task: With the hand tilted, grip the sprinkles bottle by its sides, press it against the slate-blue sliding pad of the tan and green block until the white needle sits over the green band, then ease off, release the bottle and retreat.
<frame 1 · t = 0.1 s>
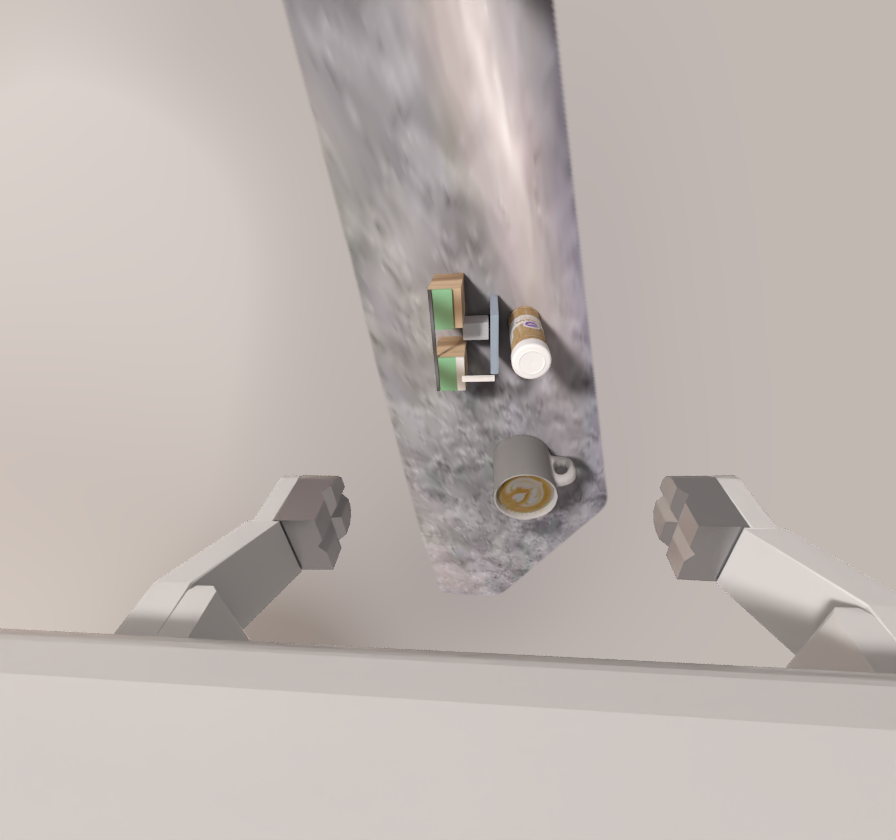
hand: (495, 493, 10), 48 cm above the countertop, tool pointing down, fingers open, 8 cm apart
tan and green block: (455, 323, 58), on the countertop
coffee mug: (531, 456, 70), on the countertop
sprinkles bottle: (523, 320, 57), on the countertop
gauge plunger: (479, 337, 54), point 5 cm above the countertop, slide at 0.0 cm
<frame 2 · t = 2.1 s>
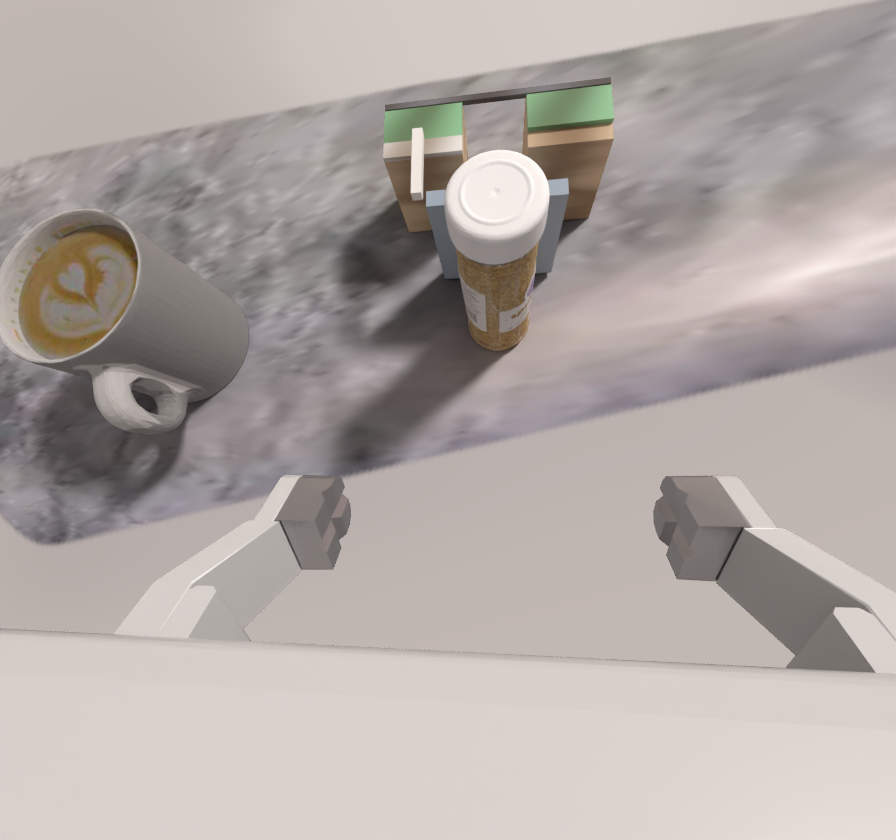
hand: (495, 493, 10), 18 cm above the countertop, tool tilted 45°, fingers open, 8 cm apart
tan and green block: (495, 208, 32), on the countertop
coffee mug: (194, 365, 33), on the countertop
sprinkles bottle: (497, 324, 30), on the countertop
gauge plunger: (489, 209, 27), point 5 cm above the countertop, slide at 0.0 cm
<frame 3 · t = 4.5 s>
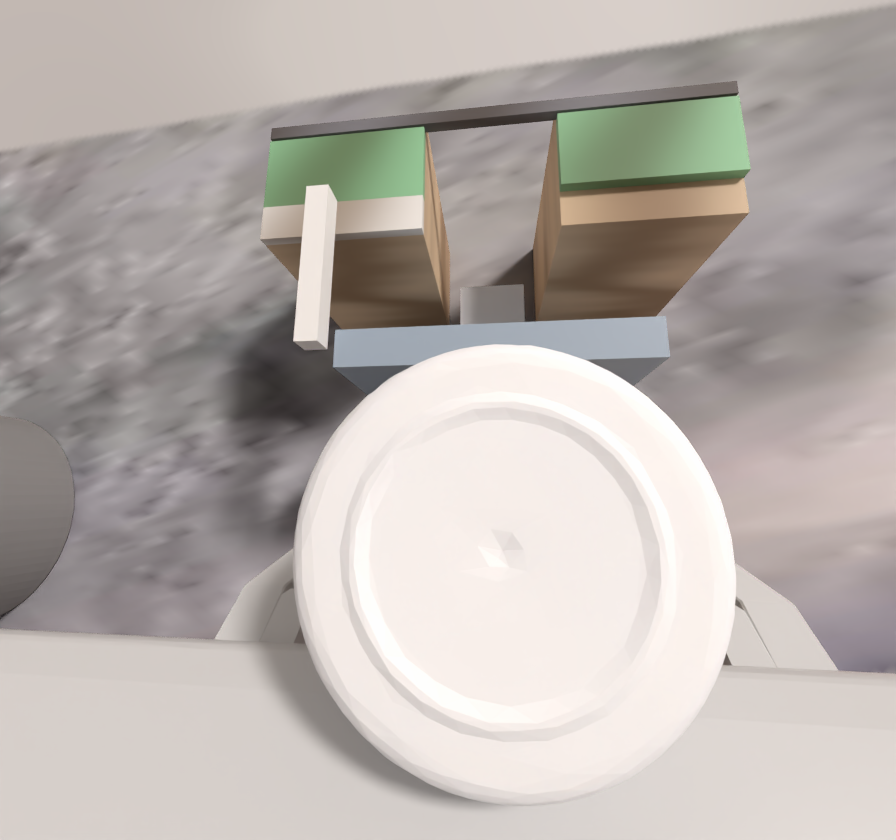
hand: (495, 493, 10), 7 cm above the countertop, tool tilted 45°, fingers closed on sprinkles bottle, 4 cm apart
tan and green block: (491, 298, 19), on the countertop
sprinkles bottle: (494, 509, 17), on the countertop, touching gripper
gauge plunger: (480, 331, 14), point 5 cm above the countertop, slide at 0.0 cm
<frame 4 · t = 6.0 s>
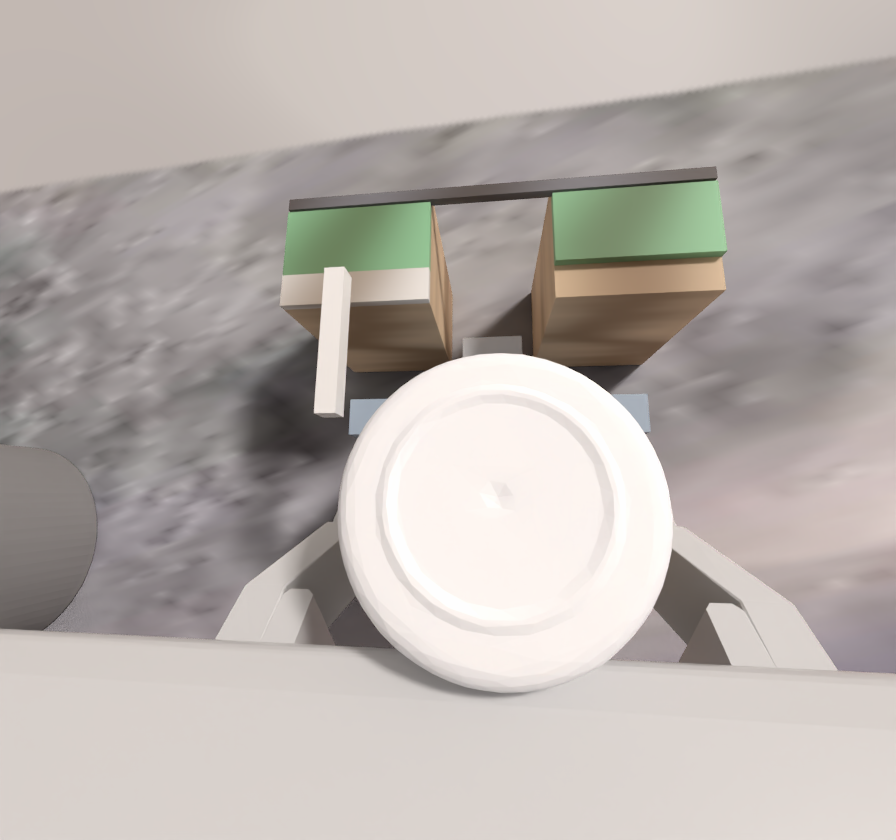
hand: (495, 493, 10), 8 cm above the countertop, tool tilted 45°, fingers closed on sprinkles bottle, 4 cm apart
tan and green block: (492, 339, 20), on the countertop
coffee mug: (10, 576, 21), on the countertop
sprinkles bottle: (497, 540, 18), on the countertop, touching gripper
gauge plunger: (481, 384, 15), point 5 cm above the countertop, slide at 0.0 cm
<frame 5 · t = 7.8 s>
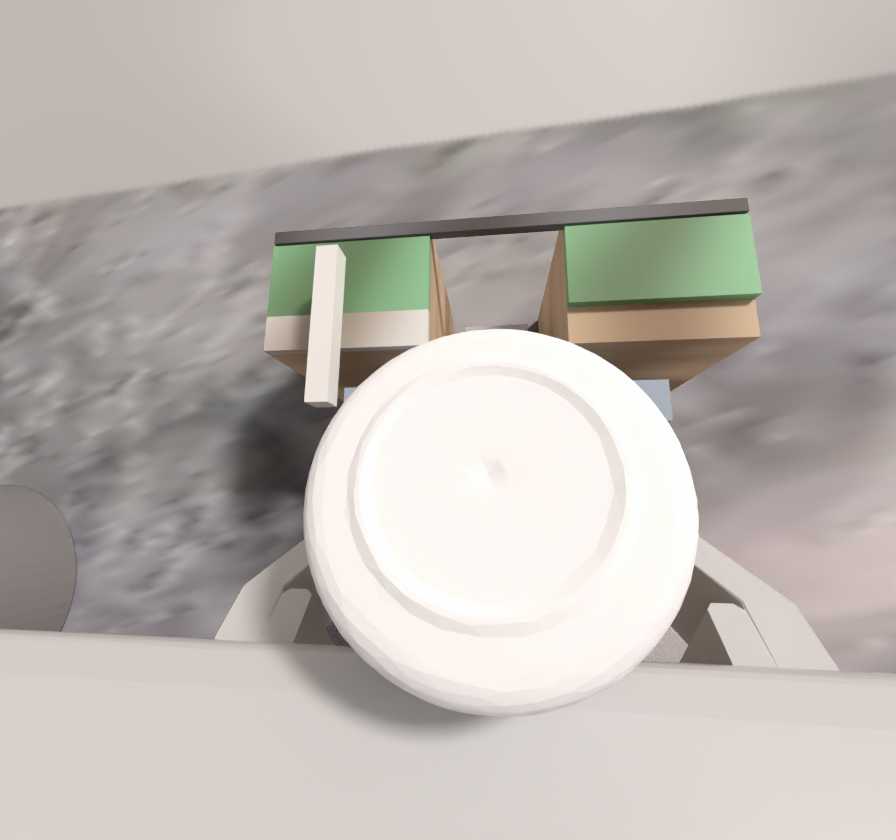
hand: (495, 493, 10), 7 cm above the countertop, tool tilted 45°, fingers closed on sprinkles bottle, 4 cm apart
tan and green block: (496, 371, 19), on the countertop
sprinkles bottle: (501, 584, 16), on the countertop, touching gripper
gauge plunger: (485, 375, 14), point 5 cm above the countertop, slide at 2.0 cm
when the fingers open (7 cm above the countertop, at t = 7.8 s): sprinkles bottle stays where it is, on the countertop.
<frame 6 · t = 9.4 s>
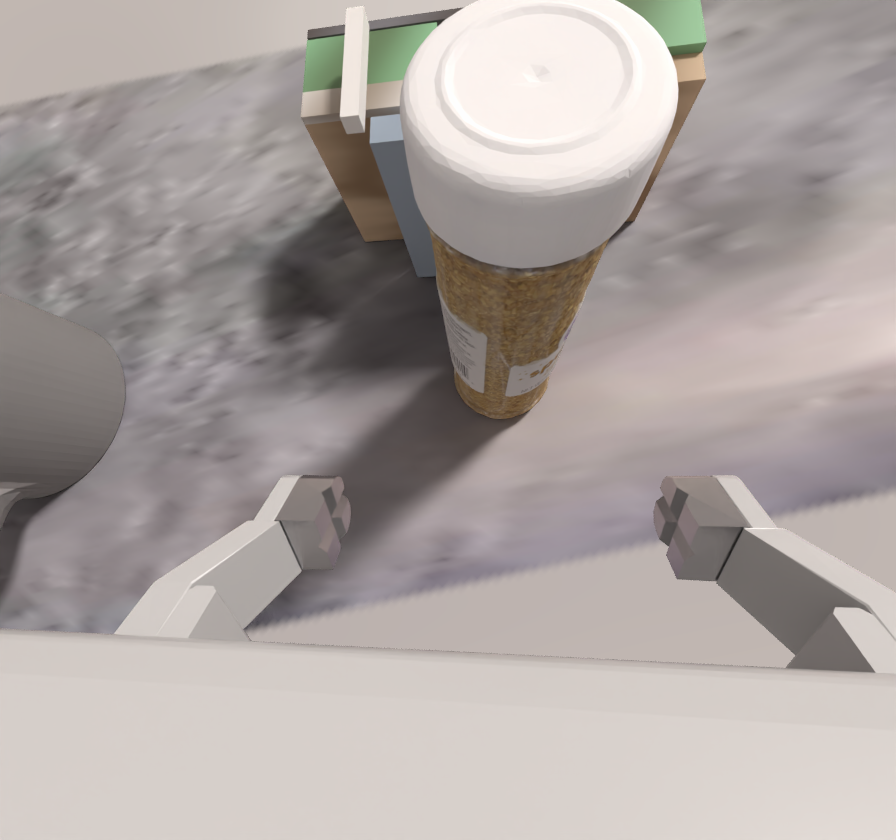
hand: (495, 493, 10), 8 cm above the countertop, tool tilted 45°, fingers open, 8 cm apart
tan and green block: (493, 206, 21), on the countertop
coffee mug: (44, 439, 22), on the countertop
sprinkles bottle: (499, 376, 19), on the countertop
gauge plunger: (484, 162, 16), point 5 cm above the countertop, slide at 2.0 cm
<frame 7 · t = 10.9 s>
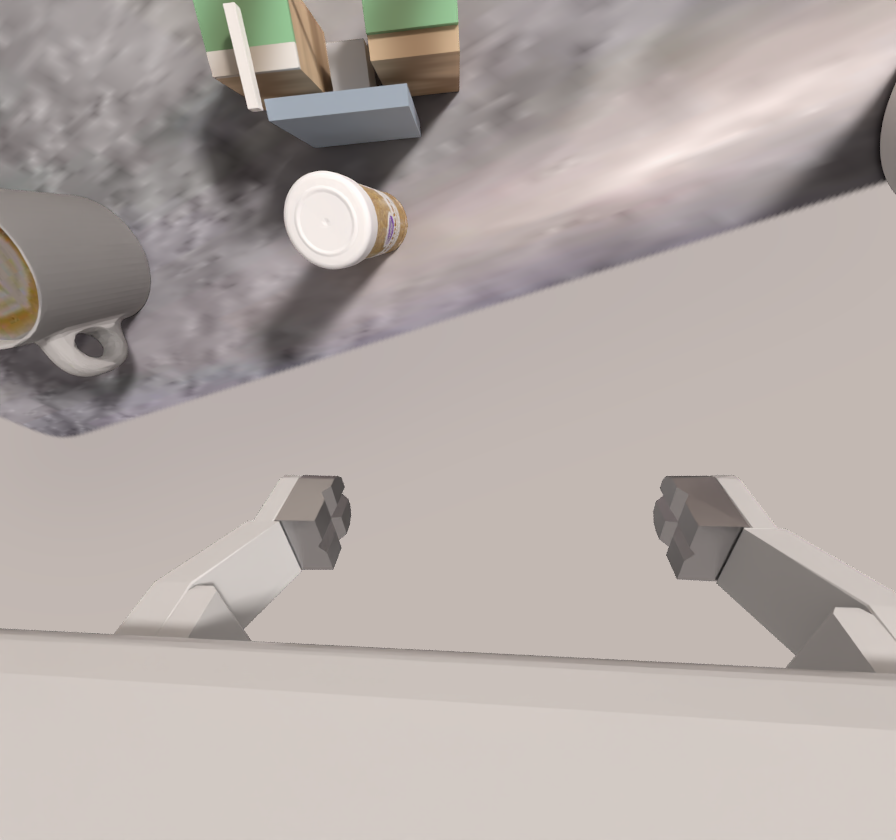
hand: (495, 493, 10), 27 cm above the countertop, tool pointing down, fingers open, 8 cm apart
tan and green block: (358, 75, 28), on the countertop
coffee mug: (102, 282, 35), on the countertop
sprinkles bottle: (380, 222, 32), on the countertop
gauge plunger: (340, 82, 25), point 5 cm above the countertop, slide at 2.0 cm
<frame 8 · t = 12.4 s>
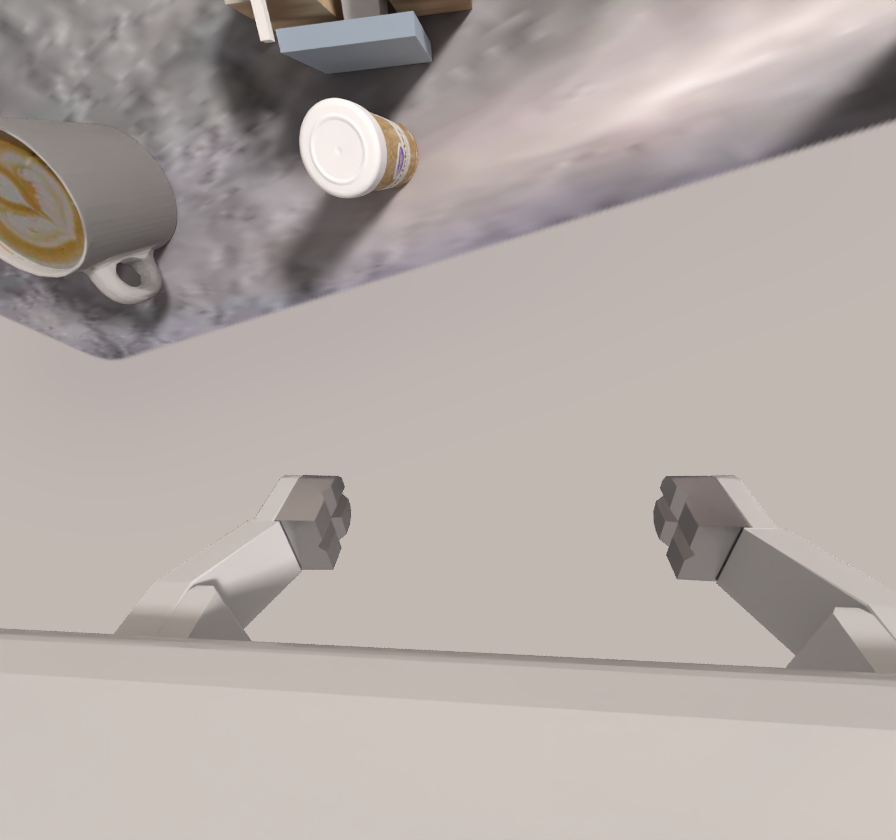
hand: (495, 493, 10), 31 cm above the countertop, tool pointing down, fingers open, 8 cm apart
coffee mug: (133, 213, 37), on the countertop
sprinkles bottle: (392, 154, 33), on the countertop
gauge plunger: (349, 5, 25), point 5 cm above the countertop, slide at 2.0 cm
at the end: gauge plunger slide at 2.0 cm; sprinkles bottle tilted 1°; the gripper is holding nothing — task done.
